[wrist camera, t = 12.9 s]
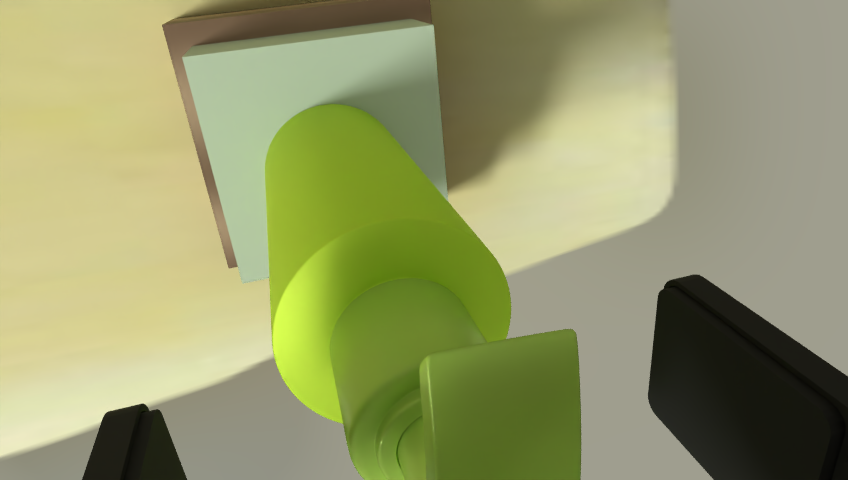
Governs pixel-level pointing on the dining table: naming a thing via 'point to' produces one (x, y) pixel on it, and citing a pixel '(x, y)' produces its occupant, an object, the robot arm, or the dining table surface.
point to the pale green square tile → (302, 89)
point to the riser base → (349, 7)
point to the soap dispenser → (405, 316)
